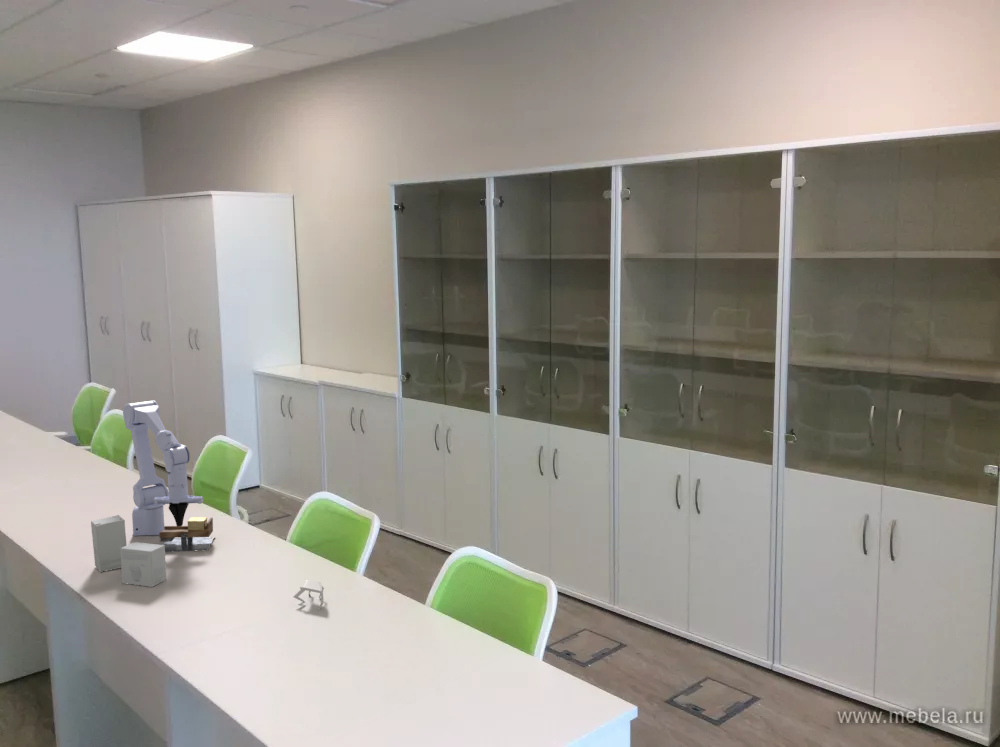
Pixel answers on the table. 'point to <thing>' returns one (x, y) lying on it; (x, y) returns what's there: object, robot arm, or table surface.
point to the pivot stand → (188, 543)
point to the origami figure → (313, 587)
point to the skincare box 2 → (143, 564)
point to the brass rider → (197, 524)
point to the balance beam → (184, 532)
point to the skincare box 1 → (108, 542)
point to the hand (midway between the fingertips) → (179, 525)
